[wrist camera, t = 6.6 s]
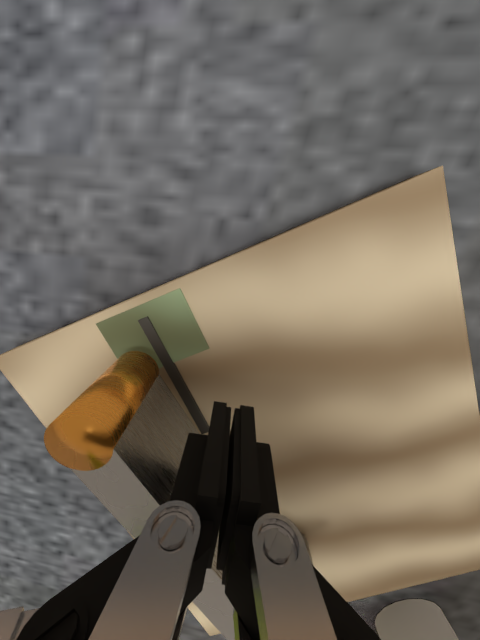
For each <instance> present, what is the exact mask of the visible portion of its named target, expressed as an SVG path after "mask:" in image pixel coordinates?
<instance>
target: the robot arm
mask: <svg viewBox="0 0 480 640" xmlns="http://www.w3.org/2000/svg"><path fill="white" fill-rule="evenodd" d="M230 422H231V407H227V403H224V402H217V401H214V404H213V409H212V415H211V421H210V426H209V432H208V435H203V434H196V433H189V434H188V437H187V441H186V444H185V448H184V451H183V455H182V459H181V462H180V466H179V469H178V473H177V476H176V480H175V483H174V487H173V491H172V494H171V498H170V501H169V502H166V503H164V504H162V505H160V506H159V507H158V508H156V509H155V510H154V511H153V512H152V514H151V515H150V517H149V518H148V520H147V522H146V524H145V526H144V528H143V530H142V532H141V534H140V535H139V536H138V537H137V538H135V539H134V540H132V541H131V542H130V543H128V544H127V545H125V546H124V547H123V548H121V549H120V550H118V551H117V552H116V553H114V554H113V555H111V556H110V557H109V558H107V559H106V560H104V561H103V562H102V563H100V564H99V565H98V566H96V567H95V568H93V569H92V570H91V571H89V572H88V573H86V574H85V575H84V576H82V577H81V578H79V579H78V580H77V581H75V582H74V583H72V584H71V585H70V586H68V587H67V588H65V589H64V590H63V591H61V592H60V593H58V594H57V595H56V596H54V597H53V598H51V599H50V600H49V601H47V602H46V603H45V604H44V605H43V606H42V607H41V608H37V609H32V610H27V611H24V609H23V607H18V608H13V609H7V610H2V611H0V640H179V637H180V633H181V630H182V626H183V622H184V618H185V614H186V610H187V606H188V605H189V604H190V603H191V602H192V601H193V600H194V599H195V598H196V597H197V596H198V595H199V594H200V593H201V591H202V590H203V585H204V579H205V574H206V569H211V567H212V562H213V558H214V553H215V548H216V543H217V538H218V533H219V538H218V551H217V564H216V570H222V585H225V595H226V596H227V598H228V599H229V601H230V603H231V604H232V606H233V621H234V634H235V640H381V639H380V638H379V637H378V635H377V634H376V633H375V632H374V631H373V630H372V629H371V628H370V627H369V626H368V625H367V624H366V622H365V621H364V620H363V619H362V618H361V617H360V616H359V615H358V614H357V613H356V612H355V610H354V609H353V608H352V607H351V606H350V605H349V604H348V603H347V602H346V601H345V600H344V598H343V597H342V596H341V595H340V594H339V593H338V592H337V591H336V590H335V589H334V588H333V587H332V585H331V584H330V583H329V582H328V581H327V580H326V579H325V578H324V577H323V576H322V575H321V573H320V572H319V571H318V570H317V569H316V568H315V567H314V566H313V565H312V563H311V560H310V557H309V554H308V551H307V548H306V545H305V542H304V539H303V537H302V535H301V533H300V531H299V529H298V528H297V527H296V525H295V524H294V523H293V522H292V521H291V520H289V519H288V518H287V517H285V516H283V515H281V514H280V511H279V504H278V497H277V490H276V483H275V476H274V469H273V462H272V455H271V448H270V445H269V444H267V443H260V442H256V429H255V416H254V407H251V406H244V405H240V409H239V408H235V410H234V415H233V421H232V426H231V431H230Z"/></svg>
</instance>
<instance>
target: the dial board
mask: <svg viewBox="0 0 480 640" xmlns="http://www.w3.org/2000/svg"><path fill="white" fill-rule="evenodd" d="M130 351H140V352H144V353H146V354H148V355H149V356H151V357H152V358H153V359H154V360H155V361H156V363H157V365H158V368H159V375H160V376H161V378H162V379H163V380H164V382H165V383H166V385H167V386H168V388H169V389H170V391H171V392H172V394H173V395H174V397H175V398H176V400H177V401H178V403H179V404H180V406H181V407H182V409H183V410H184V412H185V413H186V414H187V416H188V417H189V419H190V420H191V422H192V423H193V425H194V426H195V428H196V429H197V431H198V432H199V434H203V435H208V432H209V426H210V421H211V415H212V409H213V404H214V401H217V402H224V403H227V407H231V422H230V431H231V426H232V421H233V415H234V410H235V408H239V409H240V405H244V406H251V407H254V416H255V429H256V442H260V443H267V444H269V445H270V448H271V455H272V462H273V469H274V476H275V483H276V490H277V497H278V504H279V511H280V514H281V515H283V516H285V517H287V518H288V519H289V520H291V521H292V522H293V523H294V524H295V525H296V527H297V528H298V529H299V531H300V532H301V533H302V534H303V535H304V536H305V537H306V539H307V541H308V544H309V548H310V552H311V556H312V561H313V565H314V567H315V568H316V569H317V570H318V571H319V572H320V573H321V575H322V576H323V577H324V578H325V579H326V580H327V581H328V582H329V583H330V584H331V585H332V587H333V588H334V589H335V590H336V591H337V592H338V593H339V594H340V595H341V596H342V597H343V598H344V600H345V601H346V602H350V601H354V600H358V599H362V598H366V597H370V596H374V595H378V594H382V593H386V592H390V591H394V590H399V589H403V588H407V587H411V586H415V585H419V584H423V583H427V582H431V581H435V580H439V579H443V578H447V577H451V576H455V575H459V574H463V573H468V572H472V571H476V570H480V416H479V409H478V402H477V396H476V389H475V382H474V375H473V368H472V362H471V355H470V348H469V341H468V335H467V328H466V321H465V314H464V307H463V301H462V294H461V287H460V280H459V273H458V267H457V260H456V253H455V246H454V239H453V233H452V226H451V219H450V212H449V206H448V199H447V192H446V185H445V178H444V172H443V166H440V167H438V168H435V169H432V170H430V171H427V172H424V173H422V174H419V175H416V176H414V177H412V178H409V179H407V180H405V181H402V182H400V183H398V184H395V185H393V186H391V187H388V188H386V189H384V190H381V191H379V192H377V193H374V194H372V195H370V196H367V197H365V198H363V199H360V200H358V201H356V202H354V203H351V204H349V205H347V206H344V207H342V208H340V209H337V210H335V211H333V212H330V213H328V214H326V215H323V216H321V217H319V218H316V219H314V220H312V221H309V222H307V223H305V224H302V225H300V226H298V227H295V228H293V229H291V230H288V231H286V232H284V233H281V234H279V235H277V236H274V237H272V238H270V239H267V240H265V241H263V242H260V243H258V244H256V245H253V246H251V247H249V248H246V249H244V250H242V251H239V252H237V253H235V254H232V255H230V256H228V257H225V258H223V259H221V260H218V261H216V262H214V263H211V264H209V265H207V266H204V267H202V268H200V269H197V270H195V271H193V272H190V273H188V274H186V275H183V276H181V277H179V278H176V279H174V280H172V281H169V282H167V283H165V284H162V285H160V286H158V287H155V288H153V289H151V290H148V291H146V292H144V293H141V294H139V295H137V296H134V297H132V298H130V299H127V300H125V301H123V302H121V303H118V304H116V305H114V306H111V307H109V308H107V309H104V310H102V311H100V312H97V313H95V314H93V315H90V316H88V317H86V318H83V319H81V320H79V321H76V322H74V323H72V324H69V325H67V326H65V327H62V328H60V329H58V330H55V331H53V332H51V333H48V334H46V335H44V336H41V337H39V338H37V339H34V340H32V341H30V342H27V343H25V344H23V345H20V346H18V347H16V348H14V349H12V350H9V351H7V352H5V353H3V354H1V355H0V370H1V371H2V373H3V374H4V375H5V376H6V378H7V379H8V380H9V381H10V383H11V384H12V385H13V387H14V388H15V389H16V390H17V392H18V393H19V394H20V395H21V397H22V398H23V399H24V400H25V402H26V403H27V404H28V406H29V407H30V408H31V409H32V411H33V412H34V413H35V414H36V416H37V417H38V418H39V420H40V421H41V422H42V423H43V425H44V426H45V427H46V428H47V427H48V426H49V425H50V424H51V423H52V422H53V421H54V420H55V419H56V418H57V417H58V416H59V415H60V414H61V413H62V412H63V411H64V410H65V409H66V408H67V407H68V406H69V405H70V404H71V403H72V402H73V401H75V400H76V399H77V398H78V397H79V396H80V395H81V394H82V393H83V392H84V391H85V390H86V389H87V388H88V387H89V386H90V385H91V384H92V383H93V382H94V381H95V380H96V379H97V378H98V377H99V376H101V375H102V374H103V373H104V372H105V371H106V370H107V369H108V368H109V367H110V366H111V365H112V364H113V363H114V362H115V361H116V360H117V359H118V358H119V357H120V356H121V355H123V354H124V353H126V352H130ZM129 534H130V533H129ZM130 535H131V534H130ZM131 536H132V535H131ZM132 538H133V539H134V537H133V536H132ZM187 607H188V609H189V610H190V611H191V612H192V614H193V615H194V616H195V617H196V619H197V620H198V621H199V623H200V624H201V625H202V626H203V628H204V629H205V630H206V631H207V633H208V634H209V635H210V636H212V635H216V634H220V631H219V630H218V629H217V628H216V627H215V626H214V625H213V624H212V623H211V622H210V620H209V619H208V618H207V617H206V616H205V615H204V614H203V613H202V612H201V611H200V610H199V608H198V607H197V606H196V605H195V604H194V603H193V602H191V603H190V604H189V605H188V606H187Z"/></svg>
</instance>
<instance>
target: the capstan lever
mask: <svg viewBox="0 0 480 640" xmlns="http://www.w3.org/2000/svg"><path fill="white" fill-rule="evenodd" d="M189 433H196V434H199V432H198V431H197V429H196V428H195V426H194V425H193V423H192V422H191V420H190V419H189V417H188V416H187V414H186V413H185V412H184V410H183V409H182V407H181V406H180V404H179V403H178V401H177V400H176V398H175V397H174V395H173V394H172V392H171V391H170V389H169V388H168V386H167V385H166V383H165V382H164V380H163V379H162V378H161V376H160V375H159V368H158V365H157V363H156V361H155V360H154V359H153V358H152V357H151V356H149V355H148V354H146V353H144V352H140V351H130V352H126V353H124V354H123V355H121V356H120V357H119V358H118V359H117V360H116V361H115V362H114V363H113V364H112V365H111V366H110V367H109V368H108V369H107V370H106V371H105V372H104V373H103V374H102V375H101V376H99V377H98V378H97V379H96V380H95V381H94V382H93V383H92V384H91V385H90V386H89V387H88V388H87V389H86V390H85V391H84V392H83V393H82V394H81V395H80V396H79V397H78V398H77V399H76V400H75V401H73V402H72V403H71V404H70V405H69V406H68V407H67V408H66V409H65V410H64V411H63V412H62V413H61V414H60V415H59V416H58V417H57V418H56V419H55V420H54V421H53V422H52V423H51V424H50V425H49V426H48V427H47V429H46V431H45V434H44V443H45V446H46V449H47V451H48V452H49V454H50V455H51V456H52V457H53V458H54V459H55V460H56V461H57V462H59V463H60V464H62V465H64V466H66V467H68V468H70V469H71V470H72V471H73V472H74V473H75V474H76V475H77V476H78V477H79V479H80V480H81V481H82V482H83V483H84V484H85V485H86V486H87V487H88V488H89V489H90V491H91V492H92V493H93V494H94V495H95V496H96V497H97V498H98V499H99V500H100V501H101V503H102V504H103V505H104V506H105V507H106V508H107V509H108V510H109V511H110V512H111V513H112V515H113V516H114V517H115V518H116V519H117V520H118V521H119V522H120V523H121V524H122V525H123V527H124V528H125V529H126V530H127V531H128V532H129V533H130V534H131V535H132V536H133V537H134V539H135V538H137V537H138V536H139V535H140V534H141V532H142V530H143V528H144V526H145V524H146V522H147V520H148V518H149V517H150V515H151V514H152V512H153V511H154V510H155V509H156V508H158V507H159V506H160V505H162V504H164V503H166V502H169V501H170V498H171V494H172V491H173V487H174V483H175V480H176V476H177V473H178V469H179V466H180V462H181V459H182V455H183V451H184V448H185V444H186V441H187V437H188V434H189ZM300 533H301V532H300ZM301 535H302V537H303V539H304V542H305V545H306V548H307V551H308V554H309V557H310V560H311V563H312V565H313V561H312V556H311V552H310V548H309V544H308V541H307V539H306V537H305V536H304V535H303V534H302V533H301ZM218 538H219V533H218ZM218 538H217V543H216V548H215V553H214V558H213V562H212V567H211V569H206V574H205V579H204V585H203V590H202V591H201V593H200V594H199V595H198V596H197V597H196V598H195V599H194V600H193V601H192V602H193V603H194V604H195V605H196V606H197V607H198V608H199V610H200V611H201V612H202V613H203V614H204V615H205V616H206V617H207V618H208V619H209V620H210V622H211V623H212V624H213V625H214V626H215V627H216V628H217V629H218V630H219V631H220V633H221V634H222V635H223V636H224V637H225V638H226V639H227V640H235V634H234V621H233V606H232V604H231V603H230V601H229V599H228V598H227V596H226V595H225V585H222V570H216V564H217V551H218ZM313 566H314V565H313Z"/></svg>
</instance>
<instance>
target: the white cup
mask: <svg viewBox="0 0 480 640" xmlns="http://www.w3.org/2000/svg"><path fill="white" fill-rule="evenodd" d="M374 623H375V626H376V629H377V632H378V635H379V638H380V639H381V640H459V639H458V637H457V636H456V634H455V632H454V630H453V629H452V627H451V625H450V624H449V622H448V620H447V619H446V617H445V615H444V613H443V612H442V610H441V608H440V607H438V606H437V605H436V604H435V603H434V602H431V601H427V600H424V599H407V600H402V601H398V602H395V603H393V604H391V605H389V606H387V607H385V608H383V609H382V610H381V611H380V612H379V613H378V614H377V616H376V619H375V622H374Z"/></svg>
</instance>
